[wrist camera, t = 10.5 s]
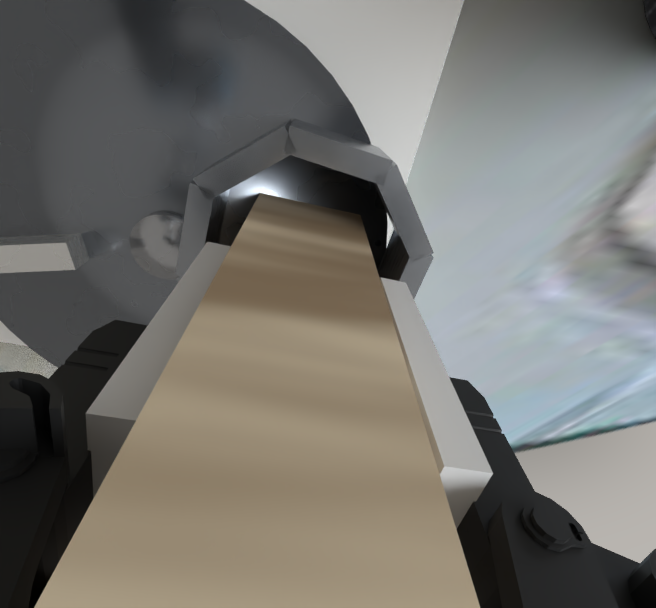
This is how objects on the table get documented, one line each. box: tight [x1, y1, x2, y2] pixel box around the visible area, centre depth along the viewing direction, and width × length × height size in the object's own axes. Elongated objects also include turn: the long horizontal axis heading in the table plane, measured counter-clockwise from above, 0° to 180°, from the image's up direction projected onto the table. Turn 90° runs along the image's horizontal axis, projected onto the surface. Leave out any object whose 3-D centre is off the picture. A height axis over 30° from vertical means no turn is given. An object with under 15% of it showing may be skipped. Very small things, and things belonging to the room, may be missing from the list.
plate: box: [0, 0, 464, 346], centre depth 17 cm, size 18×18×2 cm
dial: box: [0, 0, 433, 368], centre depth 15 cm, size 16×16×5 cm
